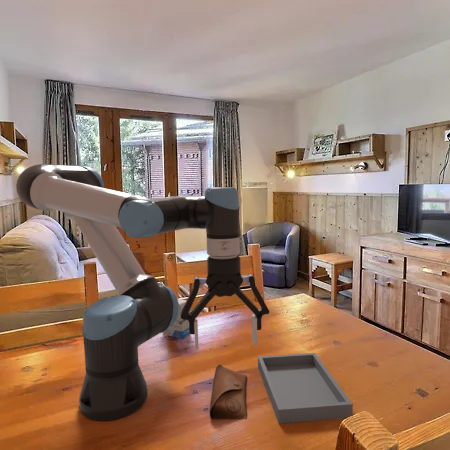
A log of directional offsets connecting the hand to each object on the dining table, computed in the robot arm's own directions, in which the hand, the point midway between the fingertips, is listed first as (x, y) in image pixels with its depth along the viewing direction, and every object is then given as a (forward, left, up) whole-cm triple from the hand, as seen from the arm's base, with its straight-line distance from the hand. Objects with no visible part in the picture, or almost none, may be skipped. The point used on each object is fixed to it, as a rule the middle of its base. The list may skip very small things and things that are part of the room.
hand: (225, 345), depth 83 cm
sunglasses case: (+1, 0, -13) cm, 13 cm away
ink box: (-13, +36, -13) cm, 41 cm away
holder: (+18, 0, -12) cm, 22 cm away
